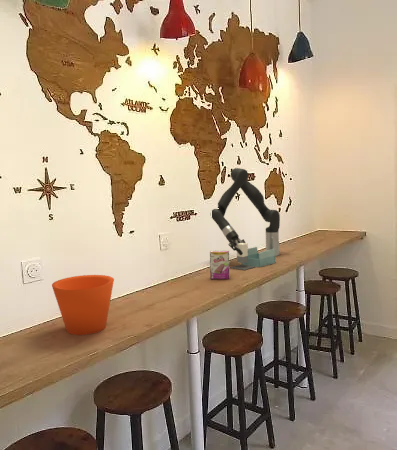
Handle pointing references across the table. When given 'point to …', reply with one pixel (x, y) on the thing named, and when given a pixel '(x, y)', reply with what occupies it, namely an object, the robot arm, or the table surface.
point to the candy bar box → (219, 264)
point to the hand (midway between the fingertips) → (244, 253)
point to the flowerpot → (84, 302)
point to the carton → (260, 257)
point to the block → (244, 256)
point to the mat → (243, 267)
